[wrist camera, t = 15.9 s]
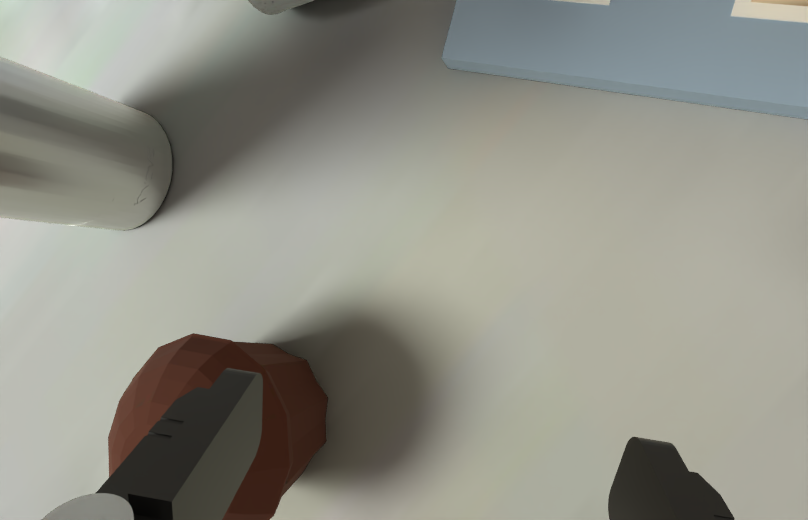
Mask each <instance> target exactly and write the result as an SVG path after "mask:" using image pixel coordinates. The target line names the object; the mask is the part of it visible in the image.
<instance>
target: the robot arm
mask: <svg viewBox="0 0 808 520" xmlns="http://www.w3.org/2000/svg"><path fill="white" fill-rule="evenodd" d="M171 174H172V153H171V148H170V143H169V141H168V138H167V136H166V133H165V132H164V130H163V129H162V127H161V126H160V124H159V123H158V122H157V121H156V120H155V119H154V118H153V117H151V116H150V115H148V114H146V113H144V112H142V111H139V110H137V109H134V108H132V107H129V106H126V105H124V104H121V103H119V102H116V101H113V100H111V99H108V98H106V97H103V96H101V95H98V94H96V93H93V92H91V91H88V90H86V89H83V88H80V87H78V86H75V85H73V84H70V83H67V82H65V81H62V80H60V79H57V78H54V77H52V76H49V75H47V74H44V73H41V72H39V71H36V70H34V69H31V68H28V67H26V66H23V65H21V64H18V63H15V62H13V61H10V60H8V59H5V58H2V57H0V218H9V219H18V220H27V221H36V222H46V223H55V224H64V225H71V226H80V227H90V228H99V229H109V230H122V231H125V230H129V229H134V228H136V227H138V226H140V225H142V224H144V223H145V222H146V221H147V220H148V219H150V218H151V217H152V216H153V215H154V214H155V212H156V211H157V210H158V209H159V207H160V206H161V204H162V202H163V200H164V198H165V196H166V194H167V191H168V188H169V185H170V181H171ZM262 402H263V378H262V375H261V374H260V373H255V372H249V371H243V370H237V369H231V368H226V369H225V370H224V371H223V372H222V373H221V375H220V376H219V377H218V378H217V380H216V381H215V382H214V384H213V385H212V386H211V387H210V389H206V388H201V387H196V388H195V389H193V390H191V391H190V392H188V393H187V394H185V395H183V396H182V397H180V398H178V399H177V400H175V401H174V402H173V404H172V405H171V406H170V407H169V408H168V409H167V411H166V412H165V413H164V414H163V415H162V417H161V419H160V421H157V422H156V424H155V425H154V426H153V427H152V428H151V429H150V431H149V432H148V435H147V436H146V435H145V436H144V438H143V439H142V440H141V441H140V442H139V443H138V445H137V446H136V447H135V448H134V449H133V450H132V452H131V453H130V454H129V455H128V456H127V457H126V459H125V460H124V461H123V462H122V463H121V464H120V466H119V467H118V468H117V469H116V470H115V471H114V473H113V474H112V475H111V476H110V477H109V478H108V480H107V481H106V482H105V483H104V484H103V485H102V487H101V488H100V489H99V490H98V491H97V492H96V493H95V494H89V495H85V496H81V497H78V498H75V499H72V500H70V501H68V502H66V503H64V504H62V505H60V506H59V507H57V508H55V509H54V510H53V511H51V512H50V513H48V514H47V515H46V516H45V517H44V518H43V519H42V520H222V519H223V517H224V515H225V513H226V511H227V509H228V507H229V506H230V504H231V502H232V500H233V498H234V496H235V494H236V492H237V490H238V489H239V487H240V485H241V483H242V481H243V479H244V477H245V475H246V473H247V471H248V470H249V468H250V466H251V464H252V462H253V460H254V458H255V456H256V453H257V450H258V447H259V443H260V439H261V433H262ZM608 511H609V519H610V520H734V517H733V515H732V514H731V512H730V510H729V509H728V507H727V505H726V504H725V502H724V500H723V499H722V497H721V495H720V494H719V493H718V492H717V491H716V490H715V489H714V488H713V487H712V486H711V485H710V484H709V483H708V482H706V481H705V480H704V479H703V478H702V477H701V476H700V475H699V474H698V473H695V472H689V471H688V469H687V467H686V465H685V464H684V462H683V460H682V458H681V457H680V455H679V453H678V451H677V449H676V448H675V446H674V445H673V444H671V443H668V442H662V441H656V440H650V439H644V438H638V437H632V438H631V439H630V440H629V441H628V443H627V445H626V448H625V451H624V453H623V456H622V459H621V462H620V465H619V467H618V470H617V473H616V476H615V479H614V481H613V484H612V487H611V490H610V494H609V502H608Z"/></svg>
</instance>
